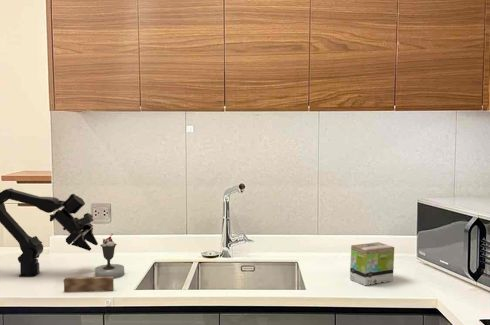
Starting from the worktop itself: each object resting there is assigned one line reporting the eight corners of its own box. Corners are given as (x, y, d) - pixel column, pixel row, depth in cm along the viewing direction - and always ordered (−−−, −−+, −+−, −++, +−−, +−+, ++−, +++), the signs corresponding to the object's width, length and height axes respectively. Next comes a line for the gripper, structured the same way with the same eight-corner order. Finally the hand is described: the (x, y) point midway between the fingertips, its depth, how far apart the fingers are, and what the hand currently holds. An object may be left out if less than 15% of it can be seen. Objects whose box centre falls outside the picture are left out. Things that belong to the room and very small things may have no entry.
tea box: (365, 286, 189) (366, 250, 188) (349, 279, 198) (350, 244, 197) (394, 281, 196) (394, 246, 195) (376, 275, 204) (377, 241, 204)
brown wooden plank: (64, 292, 180) (63, 279, 180) (65, 290, 182) (65, 277, 182) (112, 290, 182) (112, 278, 182) (113, 289, 184) (113, 276, 184)
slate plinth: (92, 279, 196) (91, 272, 196) (98, 271, 208) (98, 264, 208) (121, 278, 197) (121, 271, 197) (126, 270, 209) (126, 263, 209)
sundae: (116, 269, 199) (116, 234, 198) (100, 270, 198) (99, 235, 197) (117, 265, 206) (117, 231, 205) (101, 266, 205) (100, 231, 204)
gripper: (73, 211, 191) (100, 239, 192) (88, 204, 210) (113, 229, 211) (53, 230, 192) (81, 258, 192) (70, 222, 210) (95, 247, 211)
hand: (94, 247), depth 202 cm, fingers open, 9 cm apart
